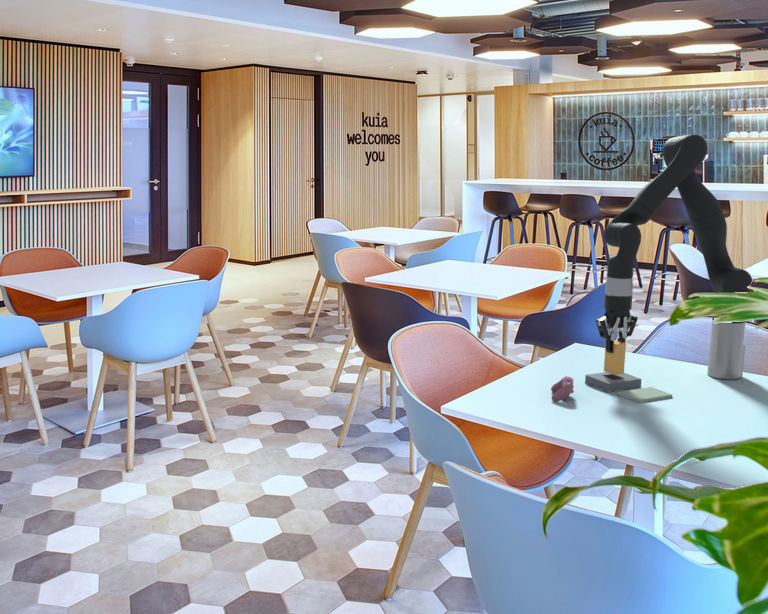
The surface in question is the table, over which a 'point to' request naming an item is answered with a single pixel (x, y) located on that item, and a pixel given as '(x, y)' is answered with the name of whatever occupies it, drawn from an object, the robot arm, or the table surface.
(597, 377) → the graphite dock
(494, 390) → the table surface
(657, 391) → the sage mat
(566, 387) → the pink toy
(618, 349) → the amber plug
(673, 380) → the table surface
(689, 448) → the table surface
